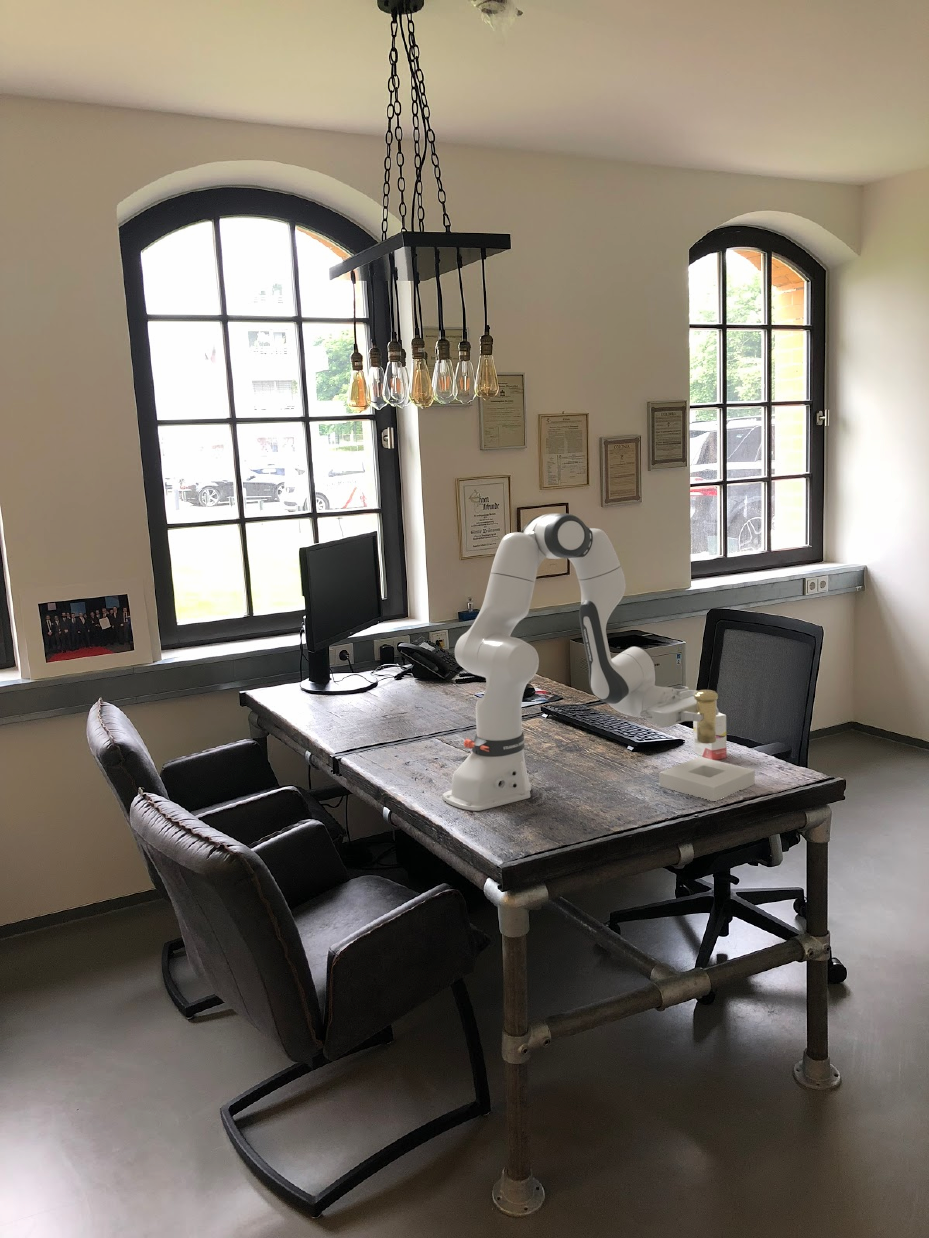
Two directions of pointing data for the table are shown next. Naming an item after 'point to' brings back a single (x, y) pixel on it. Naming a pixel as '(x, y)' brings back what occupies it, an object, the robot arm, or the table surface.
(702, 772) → the socket block
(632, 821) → the table surface
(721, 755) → the ink cartridge box
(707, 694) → the brass fitting
